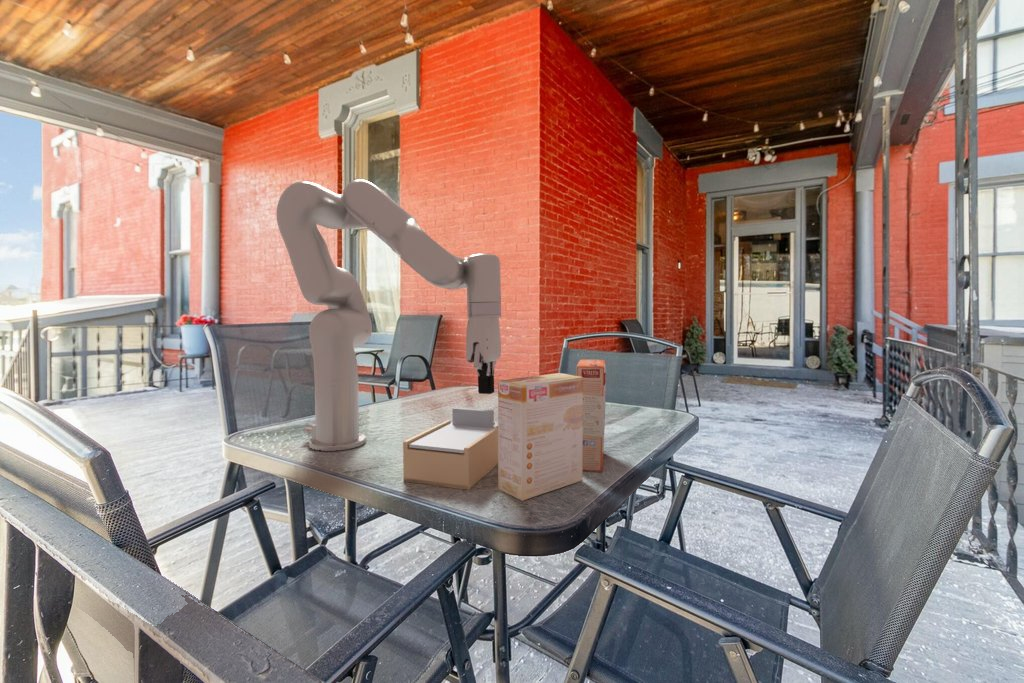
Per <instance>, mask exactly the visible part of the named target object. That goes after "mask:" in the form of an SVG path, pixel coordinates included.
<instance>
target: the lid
mask: <svg viewBox="0 0 1024 683" xmlns="http://www.w3.org/2000/svg"><path fill="white" fill-rule="evenodd" d="M494 413H495V411H494V410H493V409H492V410H491V409H481V408H480V409H479V408H464V407H453V408H452V415H451V416H452V422H451V423H450V424H448V425H446V426H444V427H443V428H441V429H439V430H437V431H435V432H433V433H431V434H429V435H427V436H425V437H423V438H421V439H419V440H417V441H415V442H413V443H411V444H409V447H410V448H419V449H428V450H437V451H446V452H456V453H464V448H465V447H466V446H468V445H469V444H471V443H472V442H474V441H475V440H477V439H478V438H480V437H481V436H483V435H485V434H486V433H488V432H489V431H491V430H492V429H494V428H495V427H496V426H495V424H494V423H495V419H494V418H495V416H494V415H495V414H494Z"/></svg>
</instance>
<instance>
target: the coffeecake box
mask: <svg viewBox="0 0 1024 683" xmlns="http://www.w3.org/2000/svg"><path fill="white" fill-rule="evenodd" d="M497 421H498V422H497V423H498V425H497V426H498V464H497V468H498V470H497V474H498V476H497V477H498V478H497V479H498V480H497V482H498V487H497V488H498V489H497V490H499V491H501V492H502V493H504V494H508V495H509V496H512V497H513V498H516V500H520V501H523V502H524V501H526V500H530V499H531V498H534V497H538V496H540V495H541V496H542V495H543V494H546V493H549V492H550V493H551V492H552V491H555V490H558V489H562V488H564V487H567V486H570V485H572V484H576V483H579V482H582V481H583V470H582V455H583V453H582V451H583V377H580V376H576V375H572V374H569V373H563V372H562V373H561V372H557V373H549V374H548V373H547V374H541V375H533V376H522V377H517V378H516V377H515V378H508V379H499V380H498V381H497Z"/></svg>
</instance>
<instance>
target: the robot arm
mask: <svg viewBox="0 0 1024 683" xmlns="http://www.w3.org/2000/svg"><path fill="white" fill-rule="evenodd" d="M276 222H277V227H278V229H279V233H280V235H281V237H282V240H283V243H284V245H285V248H286V250H287V253H288V256H289V259H290V263H291V265H292V268H293V271H294V275H295V277H296V280H297V283H298V286H299V289H300V292H301V295H302V296H303V298H304V299H305V300H306V301H307V302H309V303H310V304H312V305H317V306H325V307H327V309H324V310H322V311H319V312H318V313H316V315H314V317H313V318H312V320H311V322H310V323H309V327H308V328H309V330H308V335H309V336H308V337H309V343H310V347H311V351H312V359H313V374H314V375H313V377H314V378H313V379H314V416H315V417H314V418H315V423H313V422H312V423H311V422H310V423H308V424H307V426H306V427H304V429H303V433H305V434H311V438H310V440H308V447H309V448H310V449H311V448H312V450H314V449H315V450H314V451H319V450H321V451H322V452H336V450H338V451H344V450H350V449H354V448H357V447H361V446H362V445H364V444H365V443H366V442H367V436H366V435H365V434H363V433H360V420H359V419H360V413H359V412H360V411H359V408H360V406H359V405H360V404H359V372H358V371H359V370H358V368H359V367H358V359H357V356H356V353H355V348H357V347H360V346H363V345H364V344H366V343H367V342H369V340H370V338H371V337H372V332H373V324H372V320H371V316H370V313H369V310H368V308H367V307H368V306H367V304H366V302H365V299H364V296H363V293H362V289H361V287H360V285H359V282H358V280H357V278H356V277H355V276H354V274H352V273H351V272H350V271H348V270H347V269H345V268H342V267H339V266H336V265H335V264H334V261H333V260H332V257H331V254H330V251H329V248H328V245H327V242H326V241H325V238H324V237H323V236H322V234H321V232H320V230H319V228H318V226H321V227H323V228H326V229H331V230H344V229H348V230H349V229H357V228H359V229H360V228H366V229H368V230H369V231H370V232H371V233H373V234H374V235H375V236H377V237H378V239H380V240H381V241H382V242H383V243H385V244H386V245H387V246H388V247H389V248H390V249H391V251H392V252H394V253H395V254H396V255H397V256H398V257H399V258H400V259H401V260H402V261H403V262H404V263H405V264H407V265H408V267H410V268H411V269H412V270H414V271H415V272H416V273H417V274H418V275H420V276H421V277H422V278H423V279H424V280H426V281H427V282H428V283H429V284H431V285H433V286H435V287H437V288H442V289H446V290H452V291H453V290H461V289H466V306H467V307H466V310H467V323H466V324H467V326H466V337H465V340H466V342H465V359H466V362H467V363H468V364H470V363H471V364H472V363H473V369H474V370H476V375H477V386H478V388H477V389H478V390H477V391H478V394H483V395H492V394H494V393H495V367H496V365H497V362H498V360H499V359H500V358H501V355H502V338H501V327H500V319H499V318H502V293H501V292H502V290H501V289H502V287H501V283H502V282H501V260H500V258H499V256H497V255H495V254H491V253H476V254H471V255H469V256H468V257H460V256H456V255H455V254H452V253H450V252H449V251H448V250H446V249H445V248H444V247H442V245H441V244H439V243H438V242H436V241H435V240H434V239H433V238H432V237H431V236H430V235H428V234H427V232H425V231H424V230H423V229H422V228H421V227H420V226H419V224H418V221H417V219H415V217H414V216H413V215H411V214H410V213H409V212H408V211H407V210H405V209H404V208H403V207H402V206H400V205H399V204H398V203H397V202H395V200H393V199H392V198H391V196H390V195H389V194H388V193H387V192H386V191H384V190H383V189H381V188H380V187H379V186H378V185H376V184H374V183H372V182H370V181H368V180H365V179H355V180H351V181H350V182H349V183H347V184H346V186H345V187H344V189H343V190H342V193H341V194H340V193H335V192H333V191H331V190H329V189H327V188H325V187H323V186H321V185H320V184H317V183H314V182H310V181H303V180H302V181H296V182H294V183H291V184H290V185H289V186H287V187H286V188H285V189H284V190H283V192H282V193H281V195H280V197H279V200H278V202H277V206H276ZM321 451H320V452H321Z"/></svg>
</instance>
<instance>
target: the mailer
mask: <svg viewBox="0 0 1024 683" xmlns="http://www.w3.org/2000/svg"><path fill="white" fill-rule="evenodd" d="M450 423H452V421H451V420H450V419H447V420H444V421H443V422H441V423H438V424H436V425H435V426H432V427H430V428H428V429H426V430H424V431H422V432H419V433H417V434H415V435H414V436H412V437H409V438H407V439H406V440H404V441H402V450H403V451H402V454H403V455H402V458H403V459H402V460H403V462H402V463H403V465H402V466H403V468H402V471H403V472H402V473H403V482H410V483H415V484H421V485H422V484H423V485H428V486H429V485H430V486H435V487H436V486H438V487H445V488H451V489H452V488H453V489H461V490H470V489H472V488H473V486H475V485H476V484H477V483H479V482H480V481H481V479H482V478H484V477H486V475H488V474H489V472H491V470H493V469H494V468H495V467H496V466H498V425H497V426H494V427H495V428H494V429H492V430H491V431H489V432H488V433H486V434H485V435H483V436H481V437H480V438H478V439H477V440H475V441H474V442H472V443H471V444H469V445H468V446H466V447H465V448H464V453H456V452H446V451H437V450H428V449H419V448H410V447H409V444H411V443H413V442H415V441H417V440H419V439H421V438H423V437H425V436H427V435H429V434H431V433H433V432H435V431H437V430H439V429H441V428H443V427H444V426H446V425H448V424H450Z"/></svg>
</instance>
